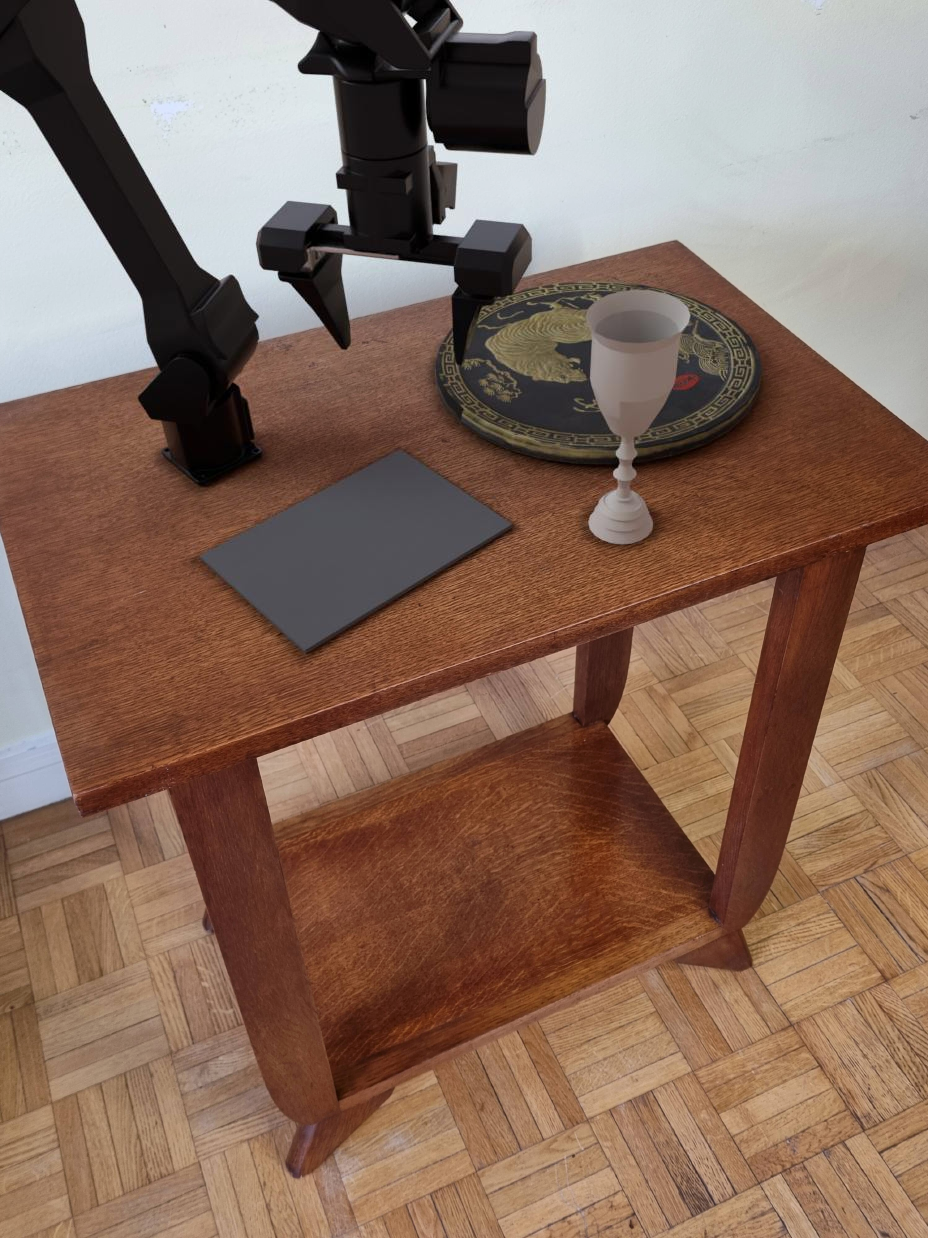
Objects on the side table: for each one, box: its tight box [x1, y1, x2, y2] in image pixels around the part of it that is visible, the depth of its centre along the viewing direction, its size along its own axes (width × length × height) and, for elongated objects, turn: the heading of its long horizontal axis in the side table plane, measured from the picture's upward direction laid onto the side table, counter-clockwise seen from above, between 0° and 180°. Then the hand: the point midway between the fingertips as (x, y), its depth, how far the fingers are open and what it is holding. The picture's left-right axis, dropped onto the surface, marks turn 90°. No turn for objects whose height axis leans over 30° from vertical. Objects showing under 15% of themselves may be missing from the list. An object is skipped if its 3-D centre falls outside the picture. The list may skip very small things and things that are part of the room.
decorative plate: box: [434, 280, 763, 465], centre depth 101 cm, size 30×2×30 cm
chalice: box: [586, 290, 690, 545], centre depth 79 cm, size 7×7×18 cm
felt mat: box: [199, 448, 513, 654], centre depth 85 cm, size 20×14×1 cm
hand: (402, 354), depth 82 cm, fingers open, 9 cm apart
